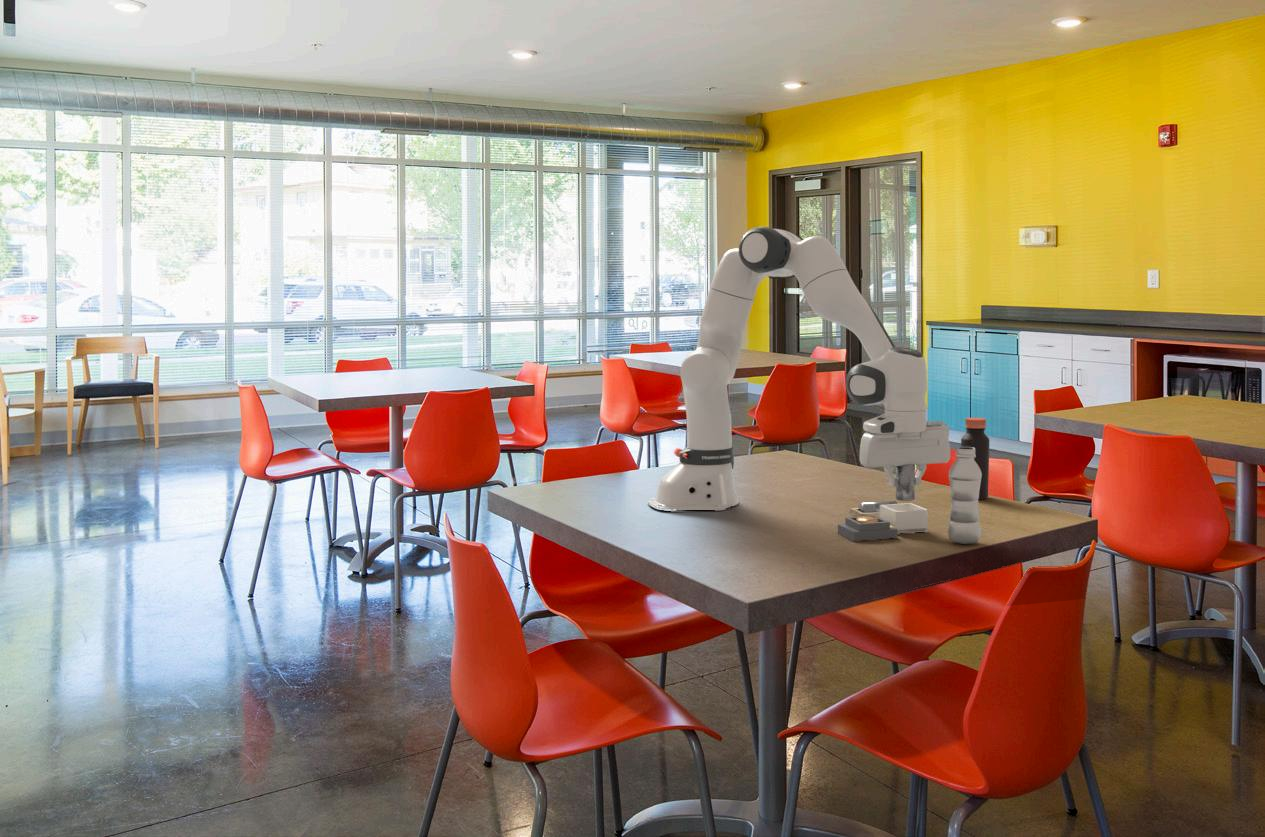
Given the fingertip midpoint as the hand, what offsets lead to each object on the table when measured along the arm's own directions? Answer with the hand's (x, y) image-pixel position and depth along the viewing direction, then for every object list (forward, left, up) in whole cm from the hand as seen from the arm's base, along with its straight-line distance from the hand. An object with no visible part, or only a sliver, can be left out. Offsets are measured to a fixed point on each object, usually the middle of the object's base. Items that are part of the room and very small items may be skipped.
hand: (905, 485), depth 232 cm
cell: (0, 0, -3) cm, 3 cm away
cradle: (-10, -3, -10) cm, 15 cm away
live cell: (-2, +8, -10) cm, 13 cm away
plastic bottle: (+6, -15, -10) cm, 19 cm away
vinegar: (+33, +27, -10) cm, 44 cm away
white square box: (0, 0, -10) cm, 10 cm away
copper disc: (-10, -3, -7) cm, 13 cm away
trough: (-2, +8, -10) cm, 13 cm away
